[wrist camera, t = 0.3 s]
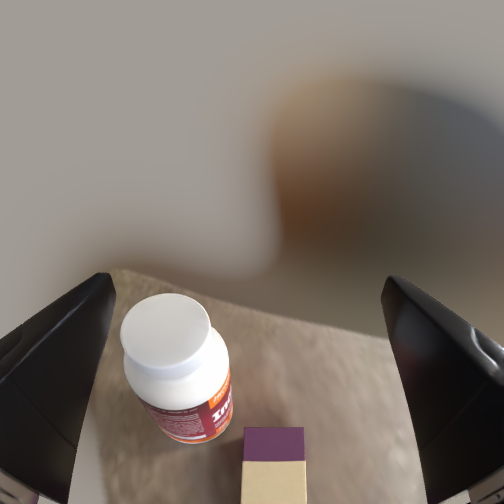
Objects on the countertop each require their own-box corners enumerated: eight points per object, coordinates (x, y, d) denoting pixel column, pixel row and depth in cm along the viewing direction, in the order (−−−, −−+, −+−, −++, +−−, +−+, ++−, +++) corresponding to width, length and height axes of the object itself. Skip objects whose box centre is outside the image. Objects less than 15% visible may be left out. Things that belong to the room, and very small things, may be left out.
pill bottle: (236, 445, 19) (228, 383, 12) (153, 444, 19) (94, 379, 12) (231, 375, 24) (224, 281, 17) (158, 375, 24) (118, 283, 17)
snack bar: (300, 556, 12) (306, 561, 11) (238, 557, 12) (237, 562, 11) (298, 436, 20) (304, 426, 18) (244, 436, 20) (243, 426, 18)
